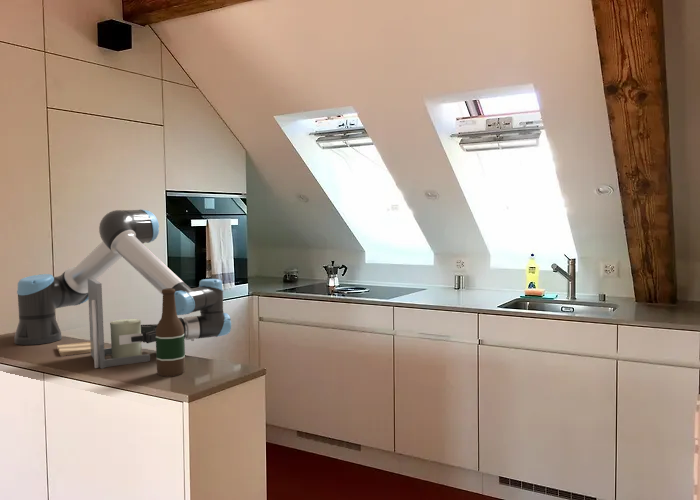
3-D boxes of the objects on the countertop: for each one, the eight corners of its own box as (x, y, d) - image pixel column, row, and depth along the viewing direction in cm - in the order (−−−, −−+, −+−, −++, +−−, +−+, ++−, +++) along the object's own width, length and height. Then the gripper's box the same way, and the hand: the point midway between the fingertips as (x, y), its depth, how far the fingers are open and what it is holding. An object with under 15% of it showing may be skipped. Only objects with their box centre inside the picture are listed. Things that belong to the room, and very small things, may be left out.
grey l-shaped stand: (86, 356, 198) (82, 278, 197) (137, 349, 206) (134, 274, 204) (95, 369, 181) (91, 284, 179) (151, 361, 189) (148, 280, 187)
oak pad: (57, 348, 210) (57, 345, 210) (98, 343, 216) (98, 340, 216) (61, 356, 199) (60, 352, 198) (104, 350, 205) (104, 347, 205)
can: (113, 362, 189) (111, 323, 188) (109, 356, 197) (108, 319, 196) (144, 359, 193) (143, 320, 192) (139, 353, 201) (138, 316, 200)
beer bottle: (158, 378, 170) (155, 291, 168) (155, 371, 177) (152, 288, 176) (187, 374, 173) (184, 289, 171) (183, 368, 180) (180, 286, 179)
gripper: (194, 347, 193) (123, 356, 182) (174, 334, 214) (108, 341, 204) (194, 323, 192) (122, 330, 182) (173, 312, 214) (108, 318, 203)
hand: (115, 336), depth 193 cm, fingers open, 13 cm apart
